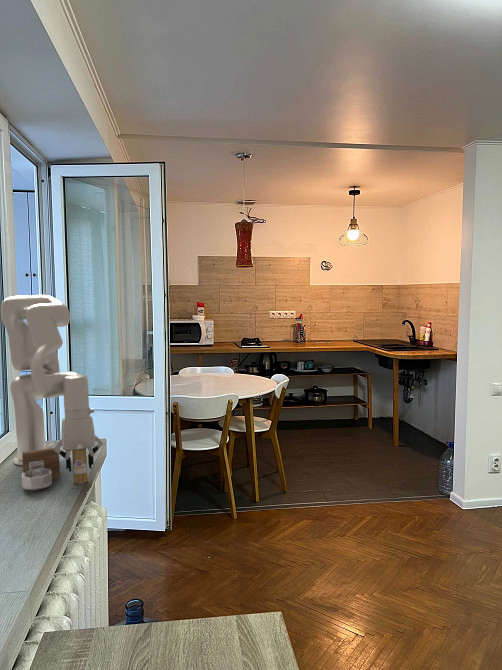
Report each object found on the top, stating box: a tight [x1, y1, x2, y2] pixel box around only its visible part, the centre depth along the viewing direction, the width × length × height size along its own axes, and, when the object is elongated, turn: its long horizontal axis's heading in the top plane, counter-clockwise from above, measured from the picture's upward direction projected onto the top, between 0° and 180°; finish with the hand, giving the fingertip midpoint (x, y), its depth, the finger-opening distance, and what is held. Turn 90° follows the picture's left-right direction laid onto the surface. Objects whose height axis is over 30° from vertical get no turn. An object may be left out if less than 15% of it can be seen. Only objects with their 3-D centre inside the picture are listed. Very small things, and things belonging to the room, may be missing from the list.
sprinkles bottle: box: [71, 444, 89, 485], centre depth 170 cm, size 5×5×13 cm
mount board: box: [22, 448, 61, 480], centre depth 174 cm, size 6×11×10 cm, turn 113°
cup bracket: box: [21, 460, 53, 491], centre depth 166 cm, size 11×9×6 cm
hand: (80, 468), depth 170 cm, fingers open, 5 cm apart
